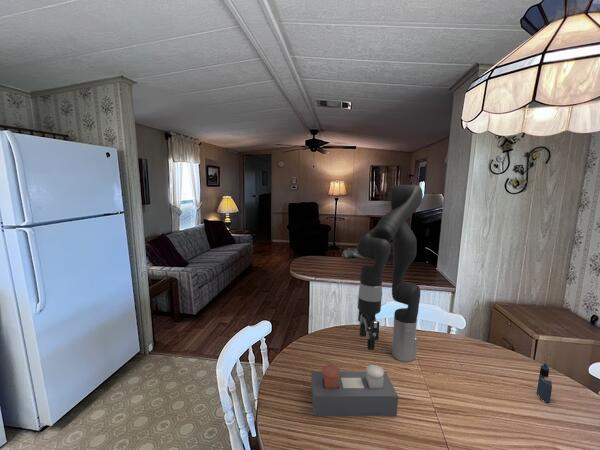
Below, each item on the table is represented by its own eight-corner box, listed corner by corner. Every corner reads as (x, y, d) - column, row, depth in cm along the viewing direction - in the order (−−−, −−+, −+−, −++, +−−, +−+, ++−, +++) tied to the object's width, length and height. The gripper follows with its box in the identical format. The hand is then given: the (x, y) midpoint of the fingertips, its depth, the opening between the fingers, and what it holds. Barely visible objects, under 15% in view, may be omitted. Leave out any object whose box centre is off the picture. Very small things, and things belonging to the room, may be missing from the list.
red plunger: (337, 384, 98) (337, 364, 97) (339, 396, 92) (340, 375, 91) (321, 384, 98) (321, 364, 97) (322, 396, 92) (323, 375, 91)
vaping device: (543, 393, 102) (548, 363, 100) (551, 404, 97) (556, 372, 95) (535, 392, 103) (539, 361, 101) (542, 402, 98) (546, 370, 96)
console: (384, 389, 102) (385, 371, 101) (396, 416, 90) (398, 395, 89) (311, 389, 101) (311, 371, 100) (313, 416, 89) (314, 395, 88)
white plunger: (379, 384, 98) (380, 364, 97) (384, 396, 93) (385, 375, 92) (363, 384, 98) (364, 364, 97) (367, 396, 92) (369, 375, 91)
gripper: (389, 305, 87) (385, 354, 88) (373, 289, 101) (370, 332, 102) (365, 304, 86) (362, 354, 88) (353, 289, 100) (350, 332, 102)
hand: (366, 342), depth 95 cm, fingers open, 8 cm apart
